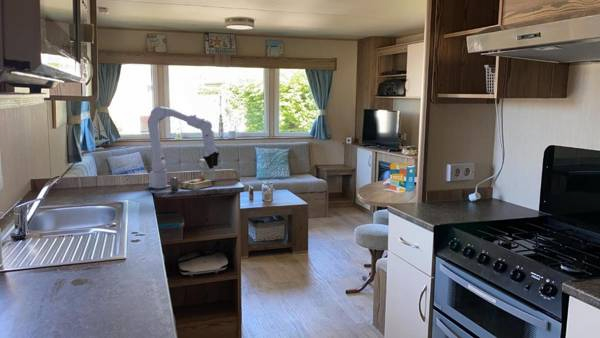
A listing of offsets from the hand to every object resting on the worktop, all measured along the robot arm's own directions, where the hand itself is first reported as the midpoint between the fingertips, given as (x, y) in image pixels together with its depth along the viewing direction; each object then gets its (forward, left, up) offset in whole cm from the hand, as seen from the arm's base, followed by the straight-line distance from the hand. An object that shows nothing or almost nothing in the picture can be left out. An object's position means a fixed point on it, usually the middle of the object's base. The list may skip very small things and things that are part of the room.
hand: (213, 167), depth 261 cm
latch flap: (-7, -2, -6) cm, 10 cm away
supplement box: (-15, +12, -11) cm, 22 cm away
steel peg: (-10, -19, -11) cm, 25 cm away
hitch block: (-7, -6, -11) cm, 14 cm away
